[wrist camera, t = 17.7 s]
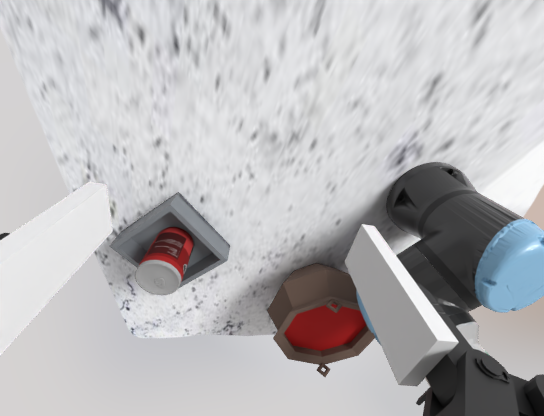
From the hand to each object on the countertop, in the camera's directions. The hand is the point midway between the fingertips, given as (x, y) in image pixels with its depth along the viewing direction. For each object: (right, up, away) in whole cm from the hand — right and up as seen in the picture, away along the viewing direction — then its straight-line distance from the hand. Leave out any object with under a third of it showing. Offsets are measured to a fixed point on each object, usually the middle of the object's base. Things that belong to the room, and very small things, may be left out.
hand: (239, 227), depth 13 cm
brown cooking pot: (+12, -18, +49) cm, 54 cm away
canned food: (-19, -6, +39) cm, 44 cm away
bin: (-19, -6, +40) cm, 44 cm away
